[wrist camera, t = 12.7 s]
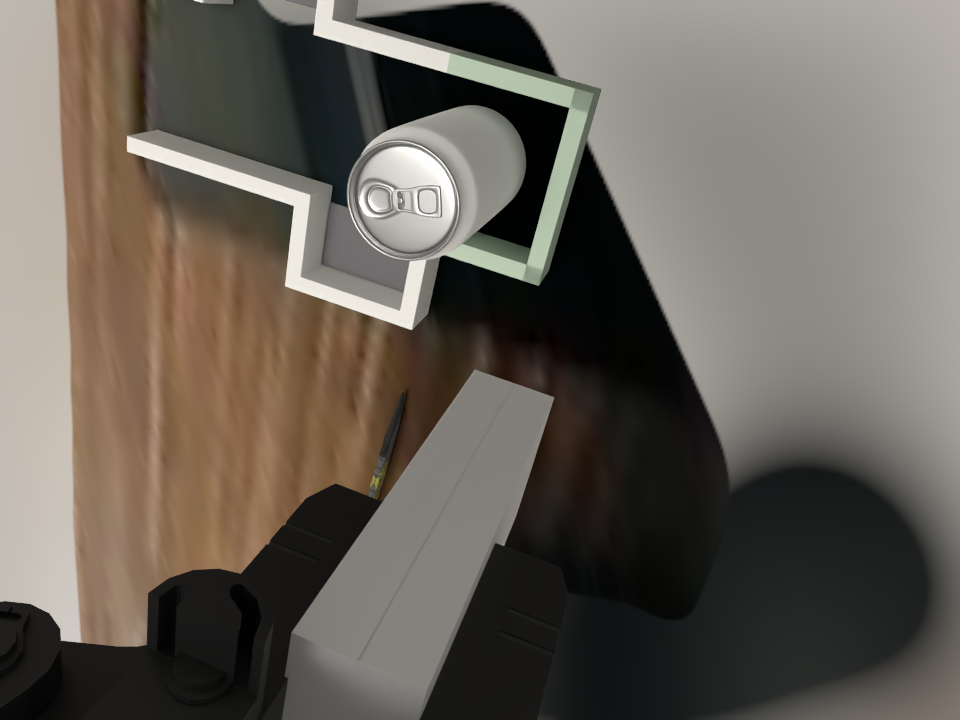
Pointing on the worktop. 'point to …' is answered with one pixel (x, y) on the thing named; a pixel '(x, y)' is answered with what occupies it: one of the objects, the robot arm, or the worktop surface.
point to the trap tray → (347, 256)
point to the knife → (386, 450)
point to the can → (435, 181)
